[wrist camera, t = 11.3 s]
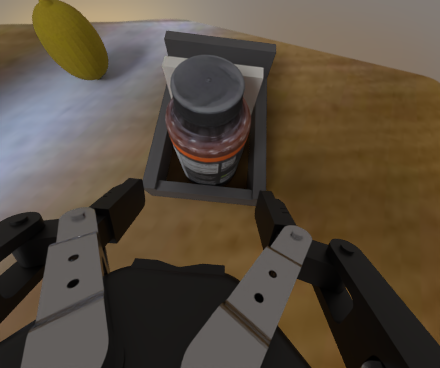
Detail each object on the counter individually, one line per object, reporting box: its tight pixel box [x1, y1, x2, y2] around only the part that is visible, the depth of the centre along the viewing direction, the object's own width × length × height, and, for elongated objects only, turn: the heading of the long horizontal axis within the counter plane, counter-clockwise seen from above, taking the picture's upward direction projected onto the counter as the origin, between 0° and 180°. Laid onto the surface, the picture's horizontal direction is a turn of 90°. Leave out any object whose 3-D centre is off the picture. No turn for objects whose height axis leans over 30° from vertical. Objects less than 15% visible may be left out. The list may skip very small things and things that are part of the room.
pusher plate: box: [162, 56, 264, 114], centre depth 18 cm, size 7×11×9 cm, turn 175°
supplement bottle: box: [165, 55, 251, 187], centre depth 14 cm, size 6×6×11 cm
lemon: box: [32, 0, 108, 80], centre depth 19 cm, size 6×6×8 cm
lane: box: [143, 31, 276, 206], centre depth 18 cm, size 11×16×6 cm
